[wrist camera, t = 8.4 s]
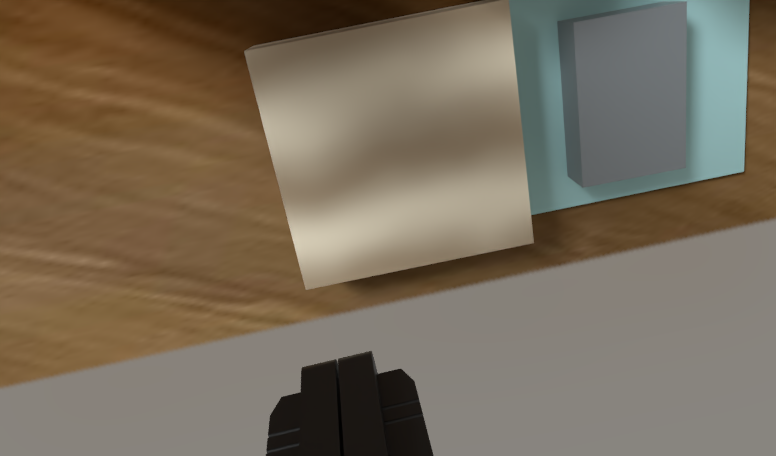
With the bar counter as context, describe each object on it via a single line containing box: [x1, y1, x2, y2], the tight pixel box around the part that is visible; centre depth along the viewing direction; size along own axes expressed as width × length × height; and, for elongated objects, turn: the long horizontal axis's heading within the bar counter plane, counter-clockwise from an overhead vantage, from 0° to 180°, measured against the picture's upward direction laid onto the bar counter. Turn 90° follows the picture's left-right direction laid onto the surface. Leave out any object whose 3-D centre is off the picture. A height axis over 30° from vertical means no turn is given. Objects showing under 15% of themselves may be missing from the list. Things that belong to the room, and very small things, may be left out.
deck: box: [244, 0, 534, 290], centre depth 33 cm, size 13×13×4 cm
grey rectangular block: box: [557, 1, 687, 188], centre depth 34 cm, size 9×6×2 cm, turn 10°
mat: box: [509, 0, 750, 215], centre depth 35 cm, size 13×14×1 cm
